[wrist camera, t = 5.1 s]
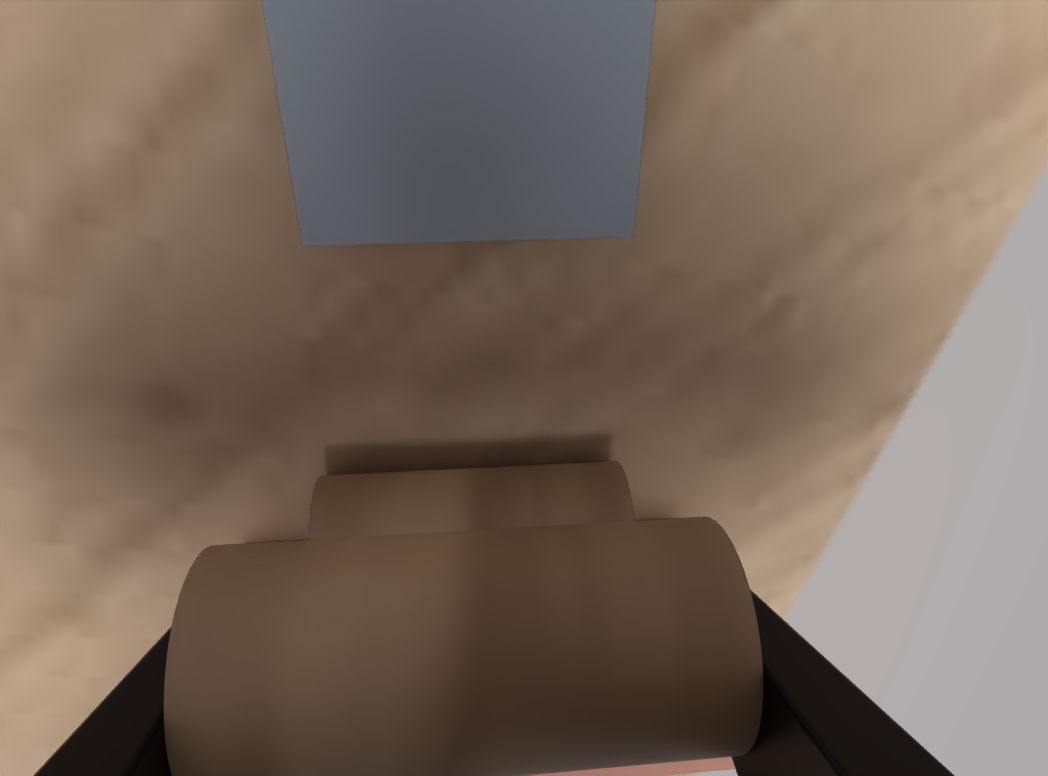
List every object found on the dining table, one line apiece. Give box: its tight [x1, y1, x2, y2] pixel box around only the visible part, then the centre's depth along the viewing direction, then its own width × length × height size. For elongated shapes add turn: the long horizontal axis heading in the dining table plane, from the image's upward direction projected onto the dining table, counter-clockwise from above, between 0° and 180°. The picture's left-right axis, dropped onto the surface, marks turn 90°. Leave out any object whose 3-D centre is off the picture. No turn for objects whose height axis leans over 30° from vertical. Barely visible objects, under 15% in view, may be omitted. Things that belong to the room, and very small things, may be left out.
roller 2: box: [164, 517, 763, 776], centre depth 9 cm, size 3×6×3 cm, turn 89°
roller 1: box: [309, 461, 634, 540], centre depth 16 cm, size 3×6×3 cm, turn 89°
